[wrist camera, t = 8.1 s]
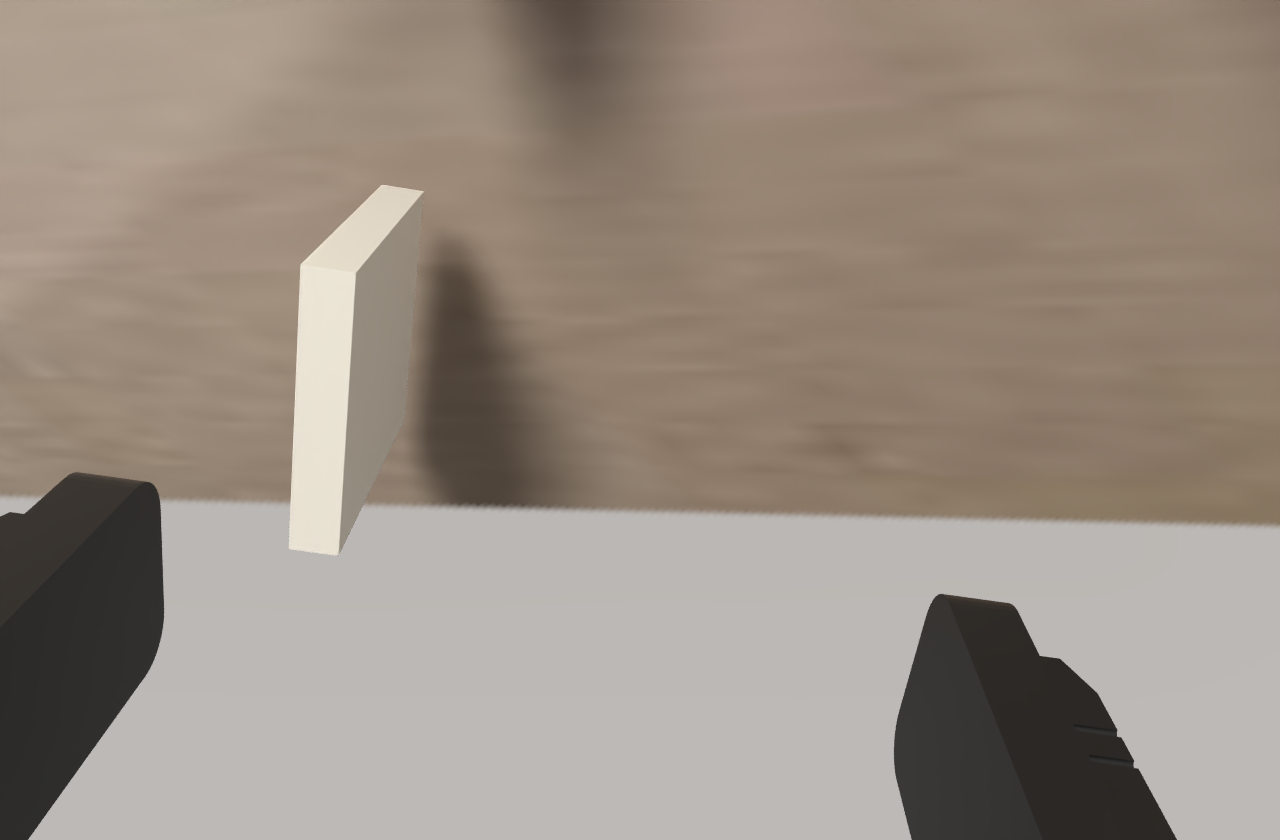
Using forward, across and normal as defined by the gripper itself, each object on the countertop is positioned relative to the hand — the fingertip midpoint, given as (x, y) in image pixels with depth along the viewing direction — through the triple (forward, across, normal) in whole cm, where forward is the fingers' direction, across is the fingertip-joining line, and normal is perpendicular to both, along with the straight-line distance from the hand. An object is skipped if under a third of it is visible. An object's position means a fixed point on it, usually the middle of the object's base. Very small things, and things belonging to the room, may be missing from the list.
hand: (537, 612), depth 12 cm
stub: (+17, +5, +3) cm, 18 cm away
